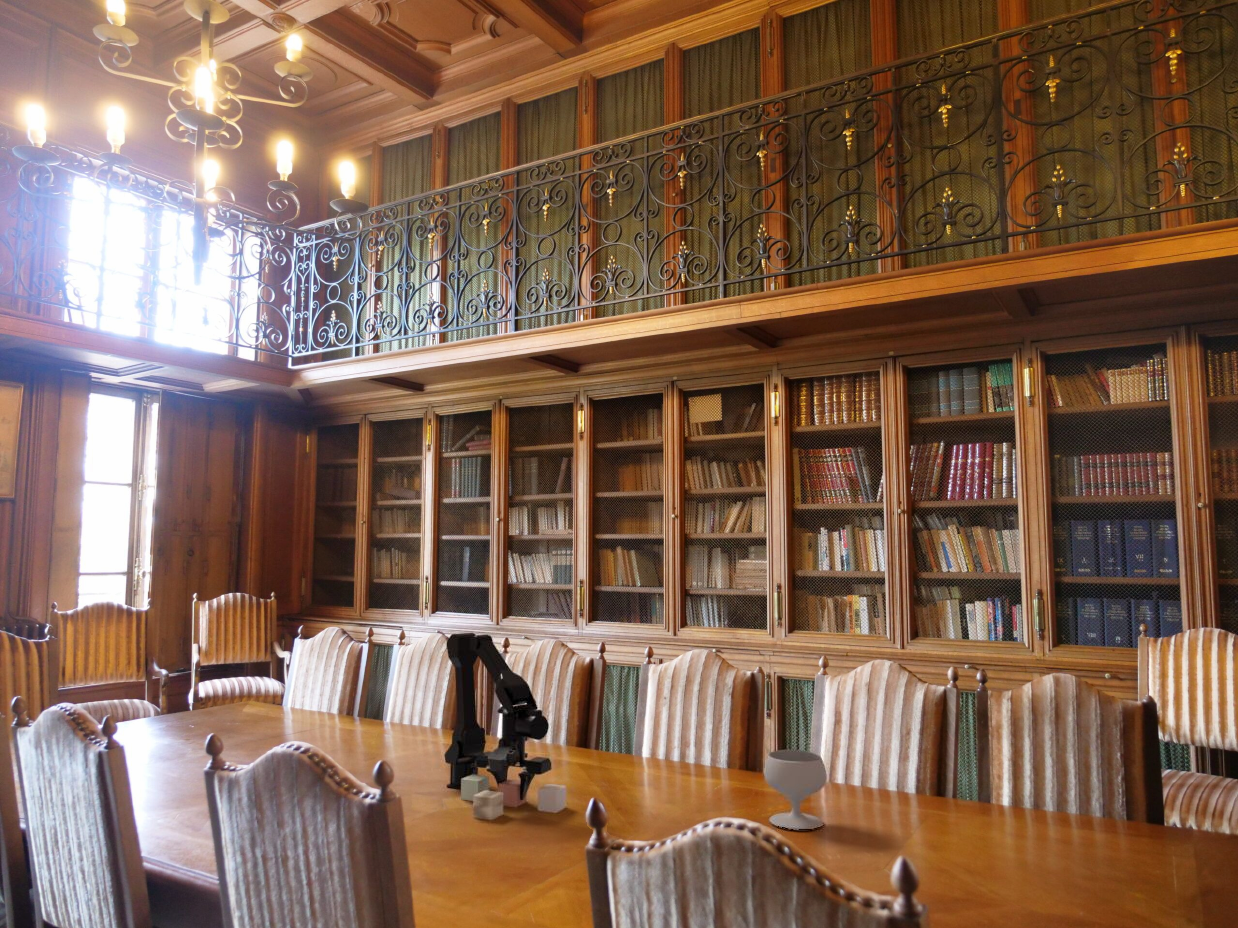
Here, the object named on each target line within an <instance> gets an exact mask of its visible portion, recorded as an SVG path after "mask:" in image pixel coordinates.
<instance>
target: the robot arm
mask: <svg viewBox="0 0 1238 928" xmlns="http://www.w3.org/2000/svg"><path fill="white" fill-rule="evenodd" d="M446 651H447V656H448V660H449V661H450V662H451V664H452V665H453V667H454V672H455V678H454V679H455V692H456V694H455V695H456V712H457V713H456V714H457V717H456V718H457V724H456V725H455V728H454V730H453V732H452V734H451V744H450V746H449V748H448V749H447V750H446V751H445V753H444V763H446V764H448V765H450V768H449V769H450V774H449V775H450V778H449V782H450V783H447V784H446V787H447V788H453V789H454V788H455V789H458V790H459V789H460V790H461V779H462V778H465V777H467V776H470V775H472V774H474V775H479V768H481V769H486V771H487V772H488V773H490V774H491V775H492V776H493V778H494V780H495V782H496V785H497V788H498V789H499V783H502V782H504V781H506V780H508V774H509V768H510V767H512V768H513V767H514V768H515V767H516V768H521V769H522V771H521V772H519V773H518V774H517V775H518V777H519V780H521V781H520V800H524V798H525V795H526V793H528V791H529V789H530V785H531V783H532V781H533V779H534V778H535V776H536V775H537V776H539V775H543V774H545V773H547V772H549V771H551V770H552V760H551V759H550V758H549V757H542V756H535V757H533V758H531V759H527V758H528V755H529V754H528V752H526V742H527V741H528V739H531V740H535V741H540V740H542V739H544V738H545V737H546V736H547V734H548V732H549V727H550V725H549V724H550V723H549V722H548V719H547V718H546V717H545V716H544V715H543V710H542V709H538V705H537V701H536V700H535V699H536V698H535V697H534V696H533V693H532V690H531V687H530V686H529V684H528V683H527V681H526V680H525V679H524V678H523V677H522V676H521V675H519V674H517V673H515V672H513V670H512V669H511V668H510V666H509V664H508V663H507V662H506V660H505V659H504V658H503V657H504V656H502V654H501V653H500V651H499V650H498V648H497V647H496V645H495V643H494V641H493V637H492V635H490V634H487V633H486V634H476V633H474V632H461V633H452V634H451V635H450V636H449V638H448V639H447V640H446ZM478 658H479V659H480V661H481V662H482V664H483V665H484V666H483V667H484V668H485V669H486V671H487V673H489V675H490V677H491V678H492V680H493V682H494V684H495V686H494V687H495V688H494V693H495V695H496V697H497V699H498V702H499V703H500V704H501V707H499V708H498V709H497V712H496V713H498V714H502V715H501V716H502V719H501V723H502V724H501V738H499V739H498V743H497V747H496V748H495V749H493V750H492V751H489V750H487V751H485V749H486V744H487V740H486V730H485V727H481V726H480V724H479V723H478V721H477V720H478V719H477V704H476V685H475V683H476V681H475V668H474V667H475V665H476V661H477V660H478ZM484 751H485V752H484Z"/></svg>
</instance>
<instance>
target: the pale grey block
mask: <svg viewBox="0 0 1238 928" xmlns="http://www.w3.org/2000/svg"><path fill="white" fill-rule="evenodd" d="M565 808H567V786H566V785H561V784H552V783H547V784H544V785H543V786H542V787H540V788H537V811H540V812H547V813H556V814H558V813H559V812H561V811H562V810H564V809H565Z"/></svg>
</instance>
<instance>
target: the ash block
mask: <svg viewBox="0 0 1238 928" xmlns="http://www.w3.org/2000/svg"><path fill="white" fill-rule="evenodd" d="M472 802H473V803H472V805H473V808H472V817H473V819H480V820H487V821H492V820H494V819H497V818H498V817H500V816H502V815H504V805H503V792H499V791H494V790H489V791H488V790H485V791H482V792H480V793H478V794H476V795H474V796H473V801H472Z"/></svg>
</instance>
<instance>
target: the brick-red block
mask: <svg viewBox="0 0 1238 928" xmlns="http://www.w3.org/2000/svg"><path fill="white" fill-rule="evenodd" d="M520 781H521V779H514V778H507V780H506V781H504V782H502V783H499V788H498V792H503V807H511V808H517V807H519V806H521V805H524V804H525V803H527V800H528V799H527V796H528V795H527V793H528V792H527V793H526V795H525V798H524V800H520Z"/></svg>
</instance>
